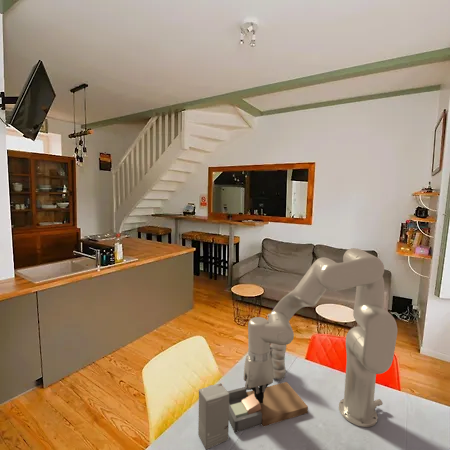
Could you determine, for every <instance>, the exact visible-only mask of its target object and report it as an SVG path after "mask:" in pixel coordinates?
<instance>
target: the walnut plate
mask: <svg viewBox="0 0 450 450" xmlns="http://www.w3.org/2000/svg"><path fill="white" fill-rule="evenodd" d="M252 394H254V395H255V392H254V391H253V390H248V391H246V397H248V396H250V395H252ZM260 406H261V409H260V410H258V411H257V412H260V411H261V413H262V425H261V426H262V427H267V426H270V425H273V424H277V423H280V422H283V421H288V420H290V419H293V418H296V417H299V416H303V415H306V414H308V413H309V406H308V405H307V404H306V402H305V401H304V400H303V399H302V398H301V396H300V395H299V394H298V393H297V392H296V391H295V390H294V388H293V387H292V386H291V385H290V384H289V383H288V381H285V382H281V383H277V384H273V385H272V384H271V385H268V386H267V387H266V389H265V392H264V399H263V403H260Z"/></svg>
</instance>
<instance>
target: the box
mask: <svg viewBox="0 0 450 450" xmlns="http://www.w3.org/2000/svg"><path fill="white" fill-rule="evenodd" d="M227 392H228V393H229V424H230V426H231V428H232V430H233V432H234V433H238V432H242V431H246V430H248V429H251V428H255V427H258V426H262V413H261V411H260V412H255V413H253V414H249V415H246V416H242V417H239V418H237V417H236V415H235V414H234V412H233V410H232V408H231V406H230V405H232V404H236V403H240V402H242V401H241V400H243V399H245V398H246V392H247V390H246V388H245V386H243V387H240V388H235V389H231V390H227Z"/></svg>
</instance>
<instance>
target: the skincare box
mask: <svg viewBox="0 0 450 450" xmlns="http://www.w3.org/2000/svg"><path fill="white" fill-rule="evenodd" d="M227 391H228V390H227V389H226V387H225V386H224V385H223V384H222V383H217V384H213V385H212V384H211V385H208V386H206V387H203V388H199V389H198V423H197V424H198V427H197V428H198V429H197V430H198V431H197V433H198V437H199V439H200V440H201V442H202V444H203V446H204V448H205V450H209V449H211V448H213V447H215V446H218V445H220V444H222V443H225V442H226V441H228V440H229V428H230V425H229V424H230V422H229V393H228V392H227Z"/></svg>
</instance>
